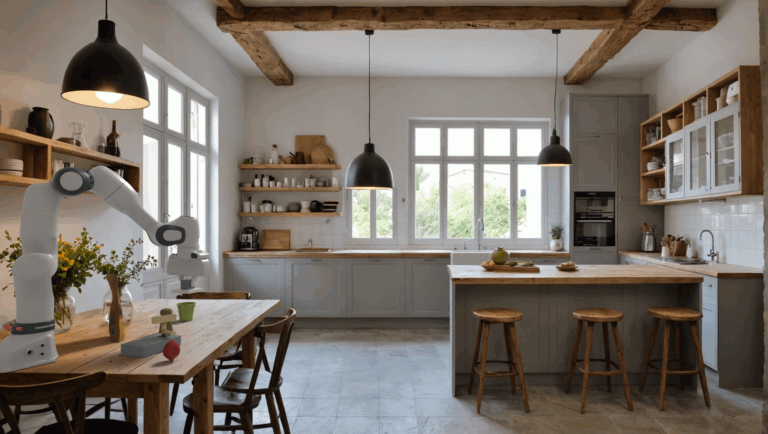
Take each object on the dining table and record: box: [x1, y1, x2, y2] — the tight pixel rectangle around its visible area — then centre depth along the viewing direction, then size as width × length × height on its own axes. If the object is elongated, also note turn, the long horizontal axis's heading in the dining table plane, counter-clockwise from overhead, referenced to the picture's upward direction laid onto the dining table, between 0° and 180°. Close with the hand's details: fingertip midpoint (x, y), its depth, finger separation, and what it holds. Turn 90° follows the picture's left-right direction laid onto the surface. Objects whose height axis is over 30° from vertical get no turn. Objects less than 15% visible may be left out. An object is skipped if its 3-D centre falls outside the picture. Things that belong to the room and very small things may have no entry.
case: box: [120, 332, 182, 359], centre depth 187 cm, size 19×11×4 cm, turn 161°
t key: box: [151, 313, 177, 336], centre depth 191 cm, size 8×9×8 cm
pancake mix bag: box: [105, 272, 126, 343], centre depth 205 cm, size 7×19×28 cm, turn 33°
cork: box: [158, 307, 174, 334], centre depth 216 cm, size 6×6×11 cm
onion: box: [162, 339, 181, 362], centre depth 173 cm, size 6×6×8 cm
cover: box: [170, 278, 205, 295], centre depth 204 cm, size 9×9×5 cm
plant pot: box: [176, 301, 197, 322], centre depth 243 cm, size 9×9×9 cm
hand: (187, 286), depth 204 cm, fingers closed on cover, 3 cm apart
